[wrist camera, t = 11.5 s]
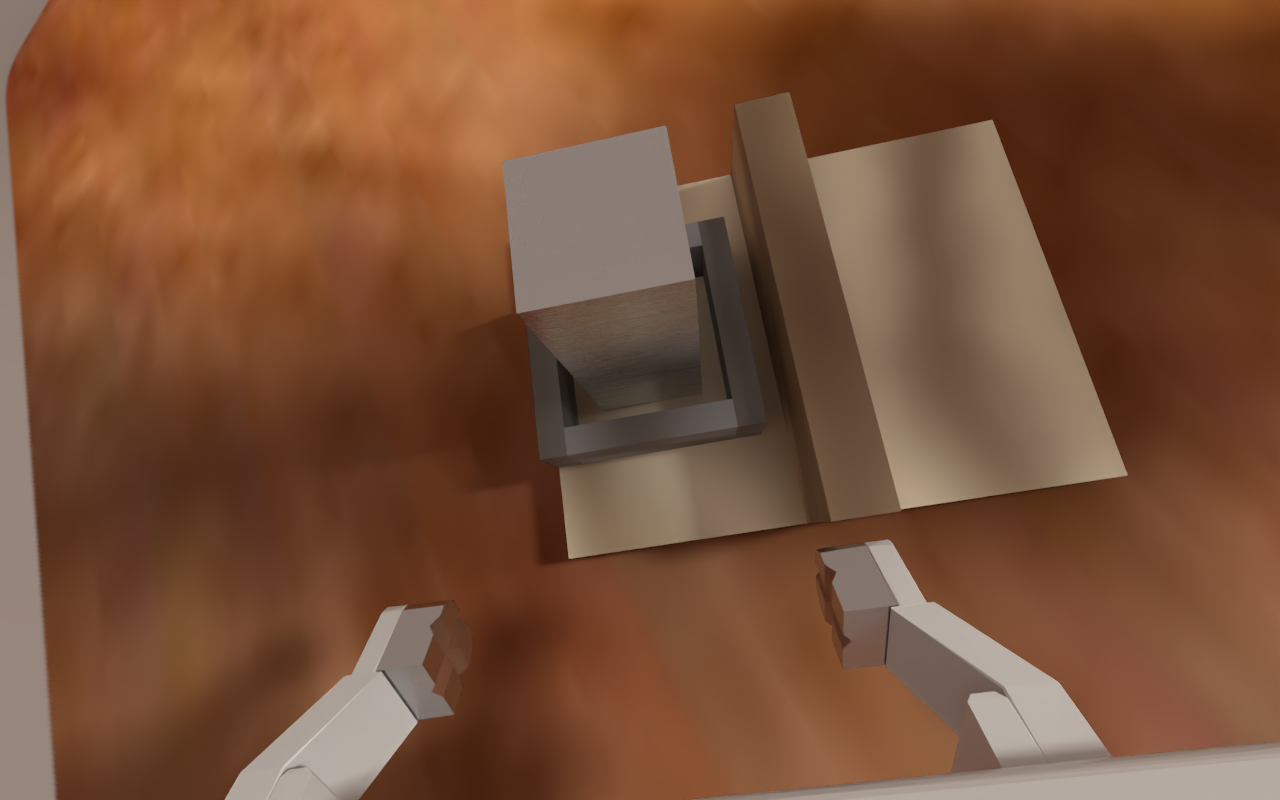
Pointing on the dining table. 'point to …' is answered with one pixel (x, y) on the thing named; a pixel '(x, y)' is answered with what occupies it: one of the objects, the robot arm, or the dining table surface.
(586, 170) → the grey square block
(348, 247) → the dining table surface
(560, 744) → the dining table surface
